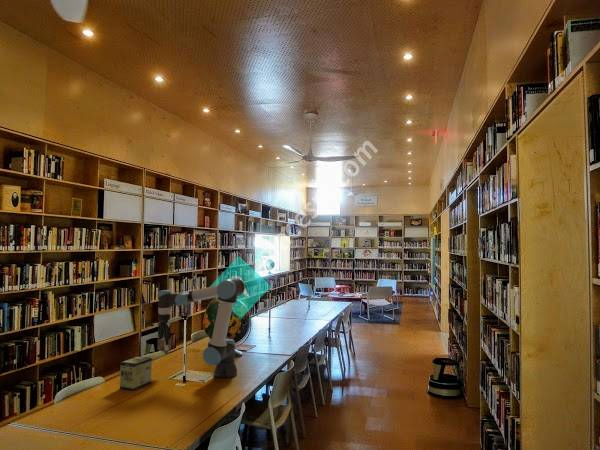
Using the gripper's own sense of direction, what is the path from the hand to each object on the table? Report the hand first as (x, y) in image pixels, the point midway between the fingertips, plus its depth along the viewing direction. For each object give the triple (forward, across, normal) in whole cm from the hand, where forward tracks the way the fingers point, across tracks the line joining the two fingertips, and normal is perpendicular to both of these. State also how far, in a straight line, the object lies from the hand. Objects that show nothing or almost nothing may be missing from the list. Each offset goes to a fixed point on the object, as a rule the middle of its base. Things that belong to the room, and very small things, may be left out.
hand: (164, 349), depth 271 cm
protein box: (+17, -9, +22) cm, 29 cm away
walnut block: (0, 0, 0) cm, 0 cm away
